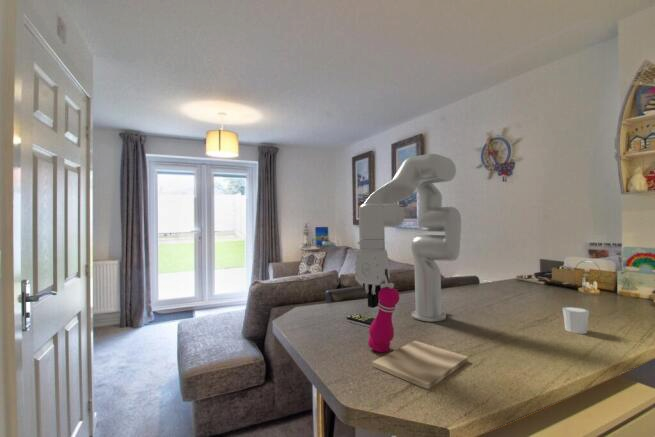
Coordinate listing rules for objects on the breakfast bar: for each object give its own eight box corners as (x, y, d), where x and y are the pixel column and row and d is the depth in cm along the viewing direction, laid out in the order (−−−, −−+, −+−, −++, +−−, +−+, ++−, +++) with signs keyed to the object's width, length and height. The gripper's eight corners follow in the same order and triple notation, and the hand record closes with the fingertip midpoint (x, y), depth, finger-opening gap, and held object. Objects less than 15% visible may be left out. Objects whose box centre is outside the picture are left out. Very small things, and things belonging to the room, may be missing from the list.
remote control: (372, 329, 111) (372, 323, 111) (344, 321, 119) (344, 316, 119) (382, 324, 115) (382, 319, 115) (354, 317, 124) (354, 312, 124)
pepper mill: (393, 344, 95) (406, 282, 91) (387, 356, 88) (401, 290, 85) (370, 335, 98) (382, 275, 94) (363, 347, 91) (375, 282, 87)
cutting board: (414, 344, 96) (414, 340, 96) (467, 361, 84) (467, 356, 84) (372, 366, 82) (372, 361, 82) (428, 389, 70) (428, 384, 70)
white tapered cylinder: (583, 328, 106) (583, 307, 106) (593, 335, 100) (592, 313, 100) (559, 326, 109) (559, 305, 109) (567, 333, 102) (567, 311, 102)
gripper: (345, 244, 98) (346, 304, 97) (384, 247, 86) (385, 314, 86) (361, 243, 103) (363, 299, 102) (400, 245, 91) (401, 308, 91)
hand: (373, 306), depth 94 cm, fingers closed
